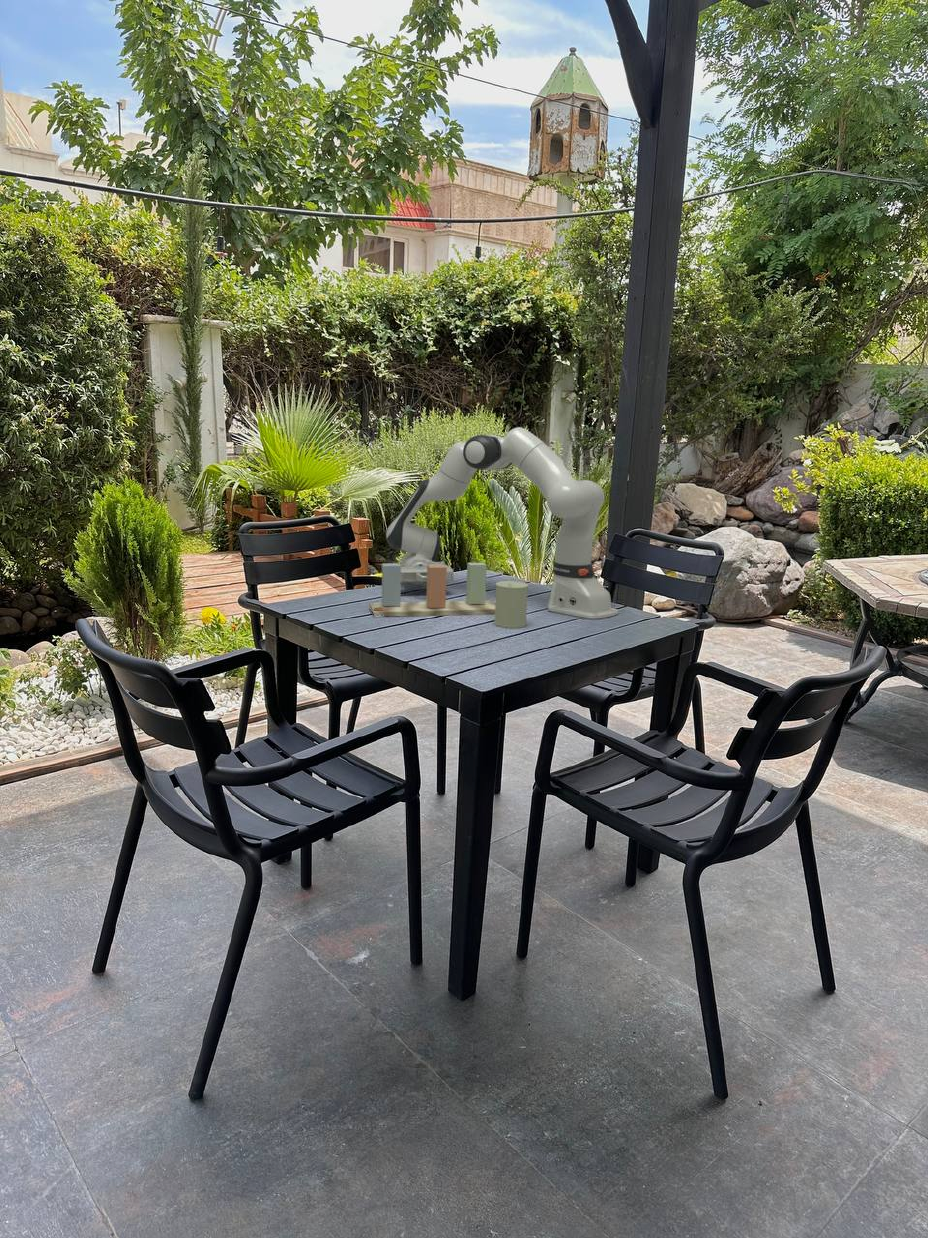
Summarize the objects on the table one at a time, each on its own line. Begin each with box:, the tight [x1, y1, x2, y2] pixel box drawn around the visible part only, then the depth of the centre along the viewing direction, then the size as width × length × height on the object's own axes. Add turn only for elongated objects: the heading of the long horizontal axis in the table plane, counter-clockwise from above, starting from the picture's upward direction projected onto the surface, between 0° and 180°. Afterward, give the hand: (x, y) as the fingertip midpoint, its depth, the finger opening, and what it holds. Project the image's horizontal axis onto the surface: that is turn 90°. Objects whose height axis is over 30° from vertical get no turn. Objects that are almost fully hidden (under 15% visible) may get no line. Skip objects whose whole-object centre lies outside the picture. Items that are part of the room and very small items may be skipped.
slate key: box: [381, 562, 402, 606], centre depth 235 cm, size 5×4×12 cm
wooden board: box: [369, 599, 496, 617], centre depth 237 cm, size 38×12×2 cm, turn 103°
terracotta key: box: [426, 565, 447, 608], centre depth 234 cm, size 5×4×12 cm
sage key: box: [465, 562, 488, 604], centre depth 241 cm, size 5×4×12 cm
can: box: [493, 580, 529, 629], centre depth 224 cm, size 9×9×12 cm
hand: (426, 579), depth 250 cm, fingers closed
